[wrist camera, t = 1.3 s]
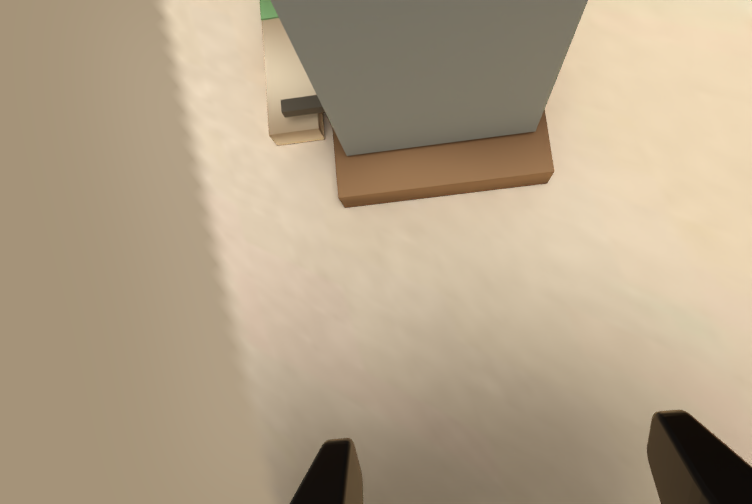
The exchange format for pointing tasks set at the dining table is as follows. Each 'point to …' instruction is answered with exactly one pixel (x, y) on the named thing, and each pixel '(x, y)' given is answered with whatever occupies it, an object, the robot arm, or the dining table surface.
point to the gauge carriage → (427, 66)
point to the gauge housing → (402, 166)
